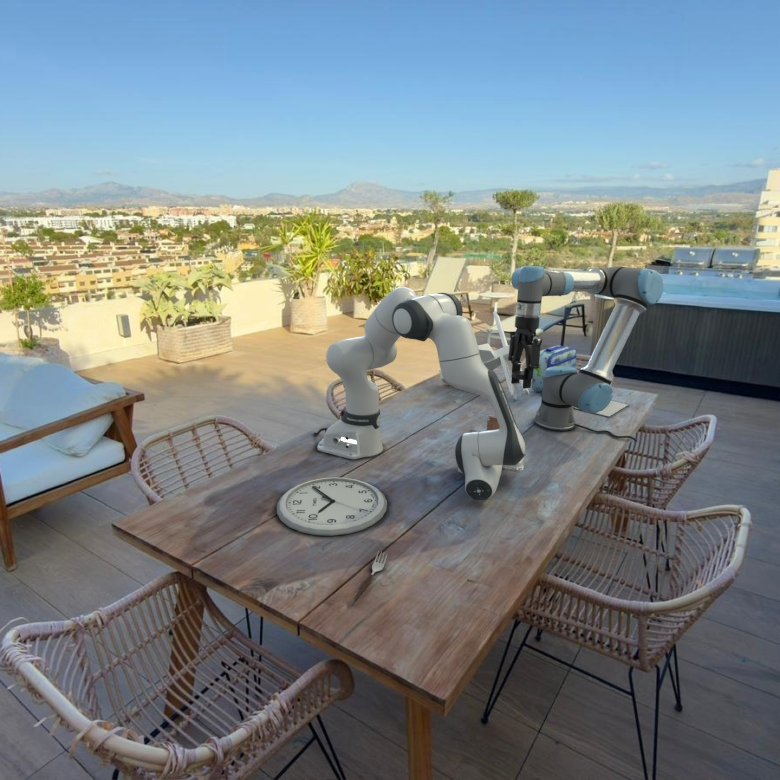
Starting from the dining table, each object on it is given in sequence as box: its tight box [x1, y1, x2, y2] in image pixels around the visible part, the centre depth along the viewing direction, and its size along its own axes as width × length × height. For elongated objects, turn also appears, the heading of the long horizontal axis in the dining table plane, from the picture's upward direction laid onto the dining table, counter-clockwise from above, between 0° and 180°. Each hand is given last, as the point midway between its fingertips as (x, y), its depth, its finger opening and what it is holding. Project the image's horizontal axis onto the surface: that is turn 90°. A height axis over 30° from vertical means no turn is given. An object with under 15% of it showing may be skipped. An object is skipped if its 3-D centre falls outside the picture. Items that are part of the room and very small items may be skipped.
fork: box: [354, 550, 388, 603], centre depth 112 cm, size 3×16×2 cm, turn 160°
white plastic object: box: [438, 310, 531, 400], centre depth 245 cm, size 37×45×31 cm
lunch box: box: [531, 345, 577, 394], centre depth 245 cm, size 26×11×21 cm, turn 134°
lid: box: [513, 370, 524, 381], centre depth 173 cm, size 5×5×2 cm
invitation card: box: [573, 400, 629, 418], centre depth 226 cm, size 21×1×15 cm
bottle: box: [486, 413, 500, 431], centre depth 164 cm, size 5×5×18 cm
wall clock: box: [276, 476, 388, 537], centre depth 142 cm, size 30×2×30 cm
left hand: (493, 448), depth 165 cm, fingers closed on bottle, 4 cm apart
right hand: (520, 385), depth 174 cm, fingers closed on lid, 5 cm apart
